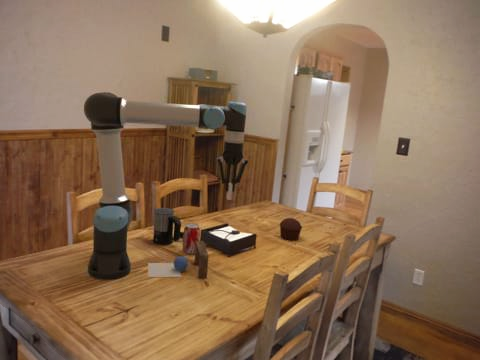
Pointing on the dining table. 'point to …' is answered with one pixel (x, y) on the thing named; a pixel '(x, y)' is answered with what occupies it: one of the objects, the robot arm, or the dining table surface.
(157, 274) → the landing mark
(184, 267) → the ball
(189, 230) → the soda can
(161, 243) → the milk frother
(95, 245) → the robot arm
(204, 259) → the bridge
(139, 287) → the dining table surface
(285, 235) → the muffin
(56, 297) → the dining table surface
